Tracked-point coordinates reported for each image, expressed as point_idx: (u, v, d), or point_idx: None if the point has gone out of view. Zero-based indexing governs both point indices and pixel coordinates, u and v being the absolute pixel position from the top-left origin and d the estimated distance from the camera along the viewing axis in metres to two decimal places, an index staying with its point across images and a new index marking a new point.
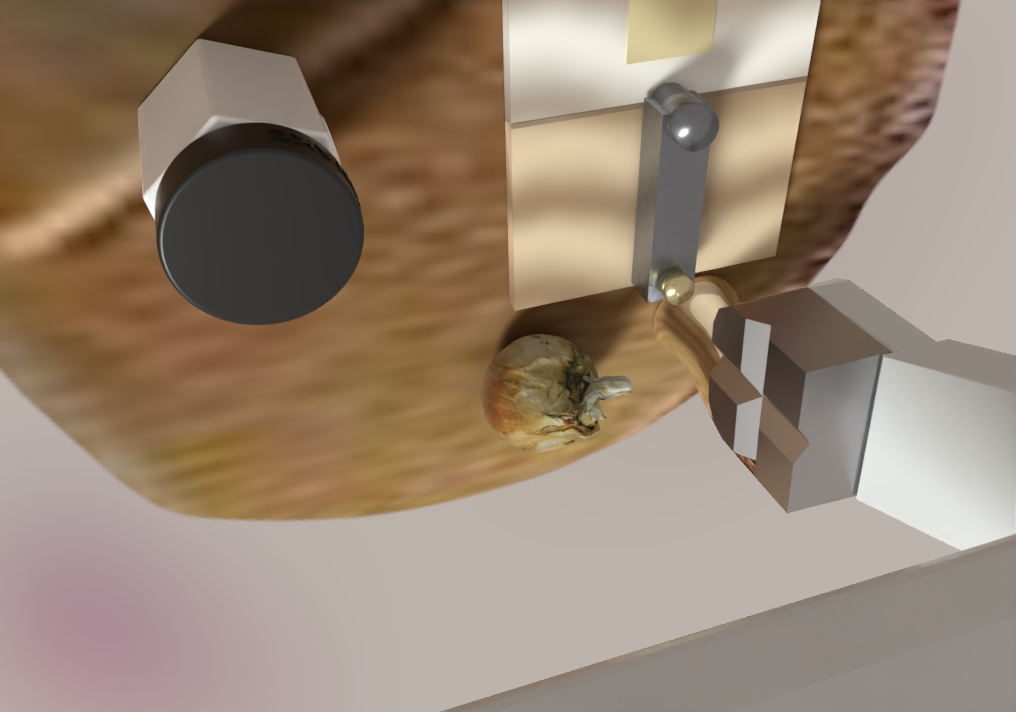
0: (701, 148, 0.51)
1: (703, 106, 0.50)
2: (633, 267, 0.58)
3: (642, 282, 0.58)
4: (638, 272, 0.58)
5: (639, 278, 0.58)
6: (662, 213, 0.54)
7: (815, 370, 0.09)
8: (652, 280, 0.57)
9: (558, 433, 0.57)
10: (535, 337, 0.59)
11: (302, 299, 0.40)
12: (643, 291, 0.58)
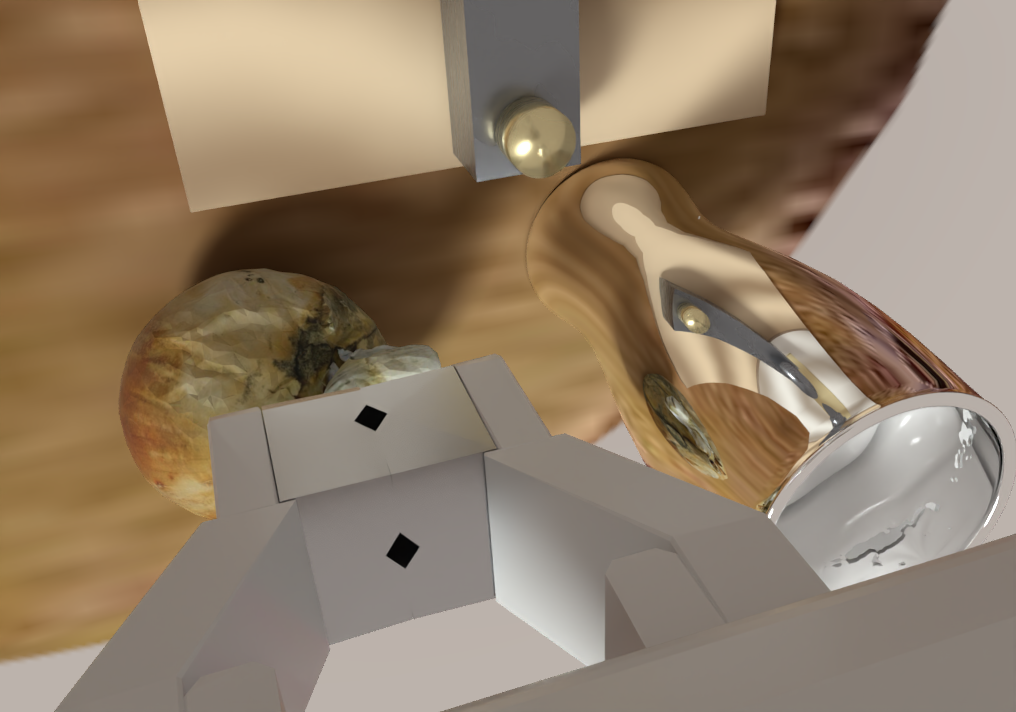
0: None
1: None
2: (451, 114, 0.27)
3: (465, 138, 0.26)
4: (457, 119, 0.26)
5: (460, 132, 0.26)
6: None
7: (402, 471, 0.08)
8: (480, 124, 0.25)
9: None
10: (241, 271, 0.27)
11: None
12: (468, 158, 0.26)
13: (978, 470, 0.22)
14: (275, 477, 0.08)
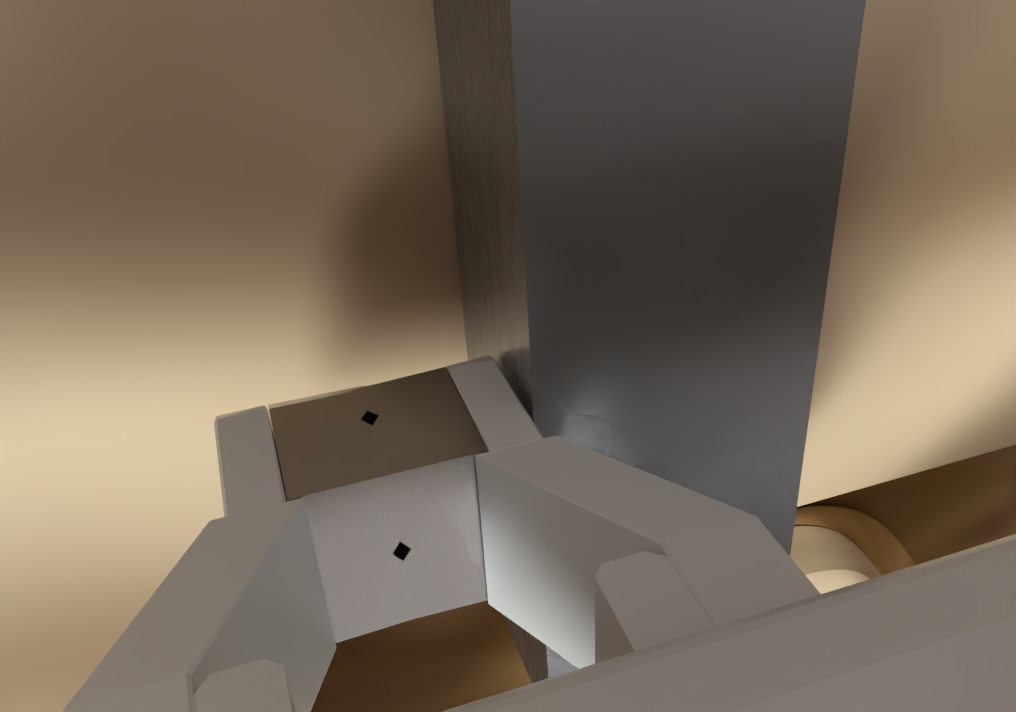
0: None
1: None
2: None
3: None
4: None
5: None
6: (575, 261, 0.08)
7: (392, 473, 0.08)
8: None
9: None
10: None
11: None
12: (529, 658, 0.12)
13: None
14: (282, 475, 0.08)
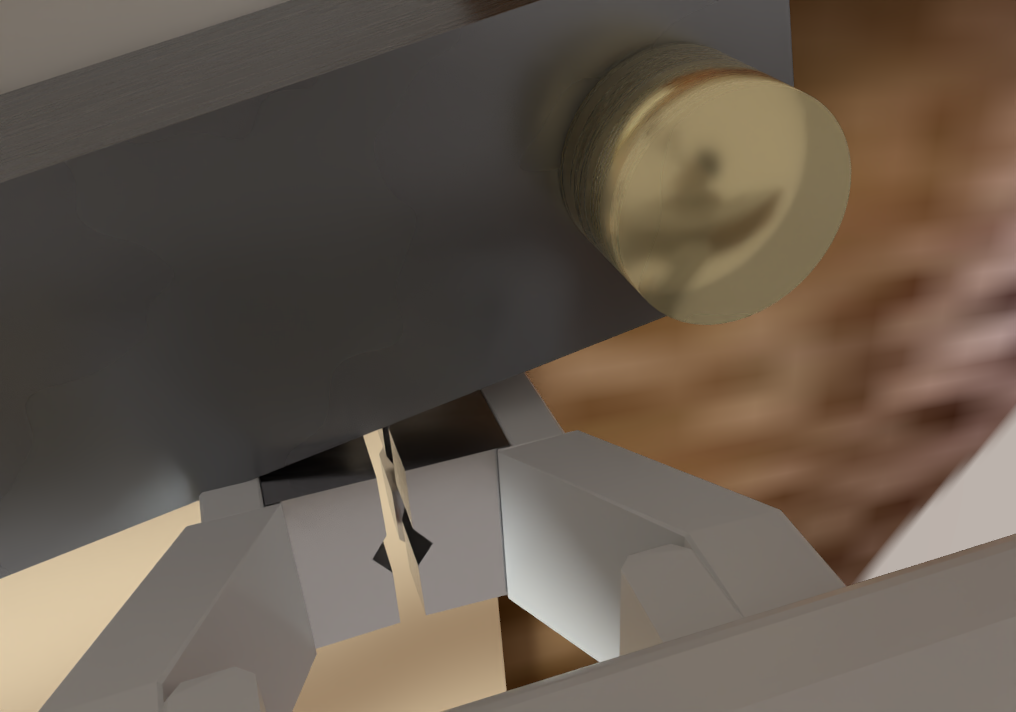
0: None
1: None
2: None
3: None
4: None
5: None
6: (140, 474, 0.08)
7: (416, 467, 0.08)
8: (647, 302, 0.08)
9: None
10: None
11: None
12: None
13: None
14: (261, 480, 0.08)
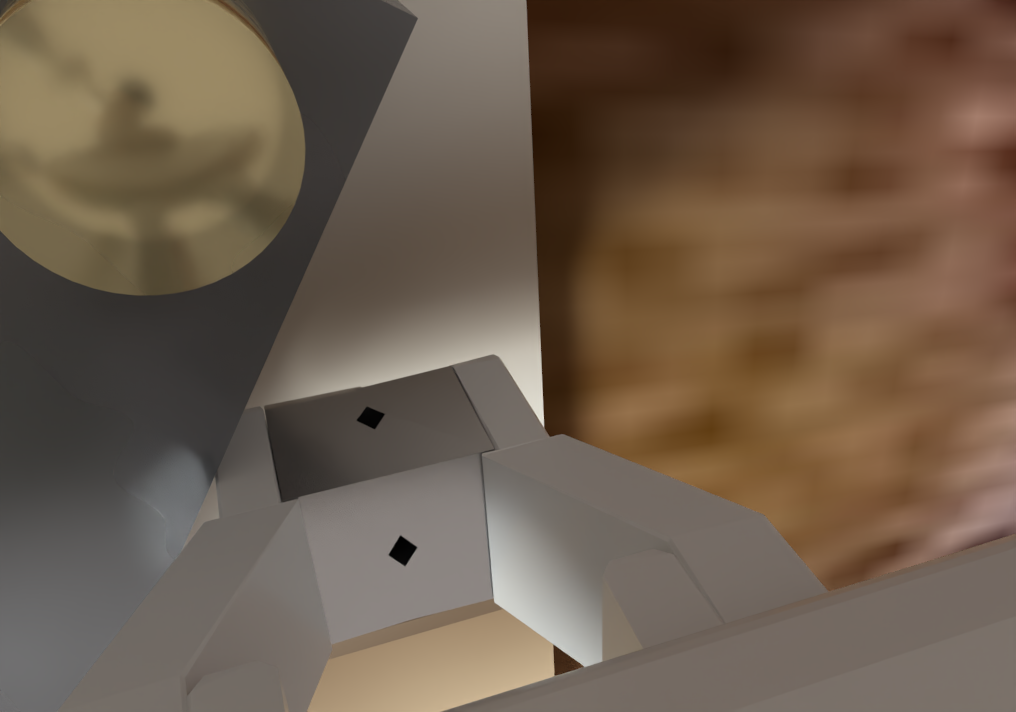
0: None
1: None
2: None
3: None
4: None
5: None
6: (86, 642, 0.08)
7: (400, 472, 0.08)
8: (304, 203, 0.07)
9: None
10: None
11: None
12: None
13: None
14: (277, 477, 0.08)
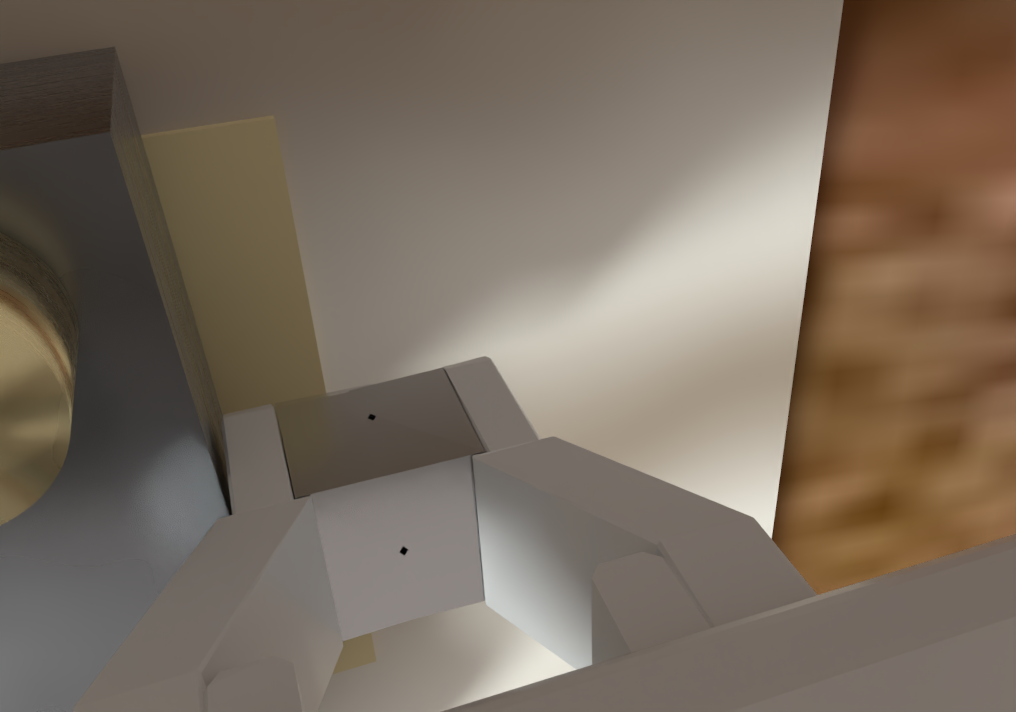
0: None
1: None
2: (152, 181, 0.09)
3: (146, 210, 0.08)
4: (156, 218, 0.08)
5: (146, 193, 0.08)
6: None
7: (390, 474, 0.08)
8: (141, 333, 0.07)
9: None
10: None
11: None
12: (128, 155, 0.07)
13: None
14: (289, 473, 0.08)
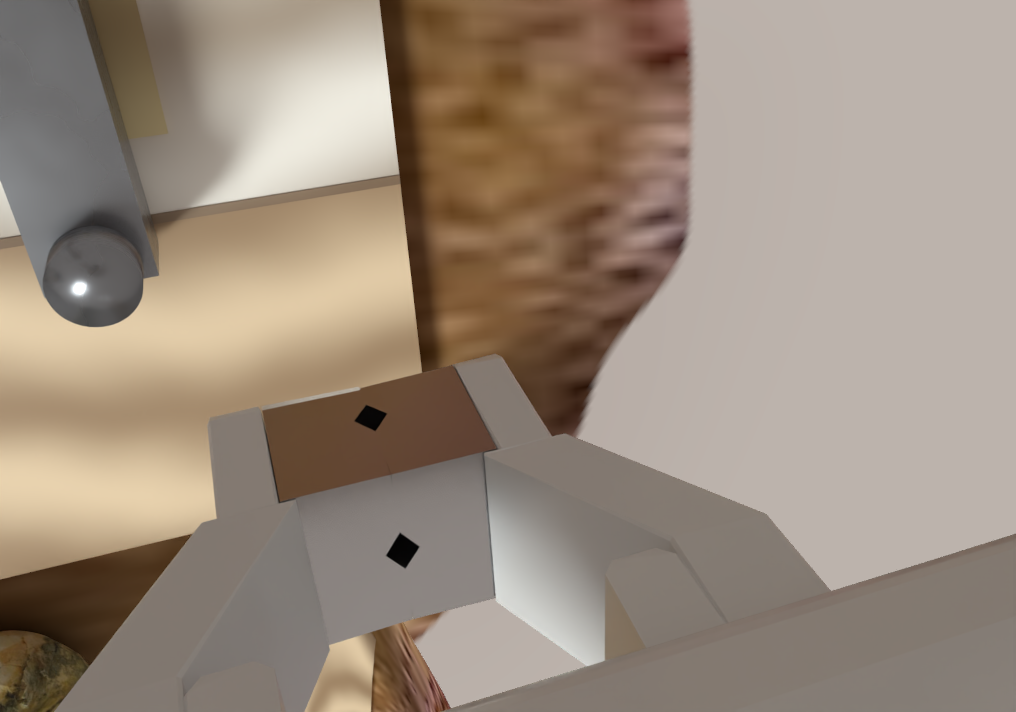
0: (68, 251, 0.24)
1: None
2: None
3: None
4: None
5: None
6: (74, 60, 0.23)
7: (402, 471, 0.08)
8: None
9: None
10: None
11: None
12: None
13: None
14: (275, 477, 0.08)
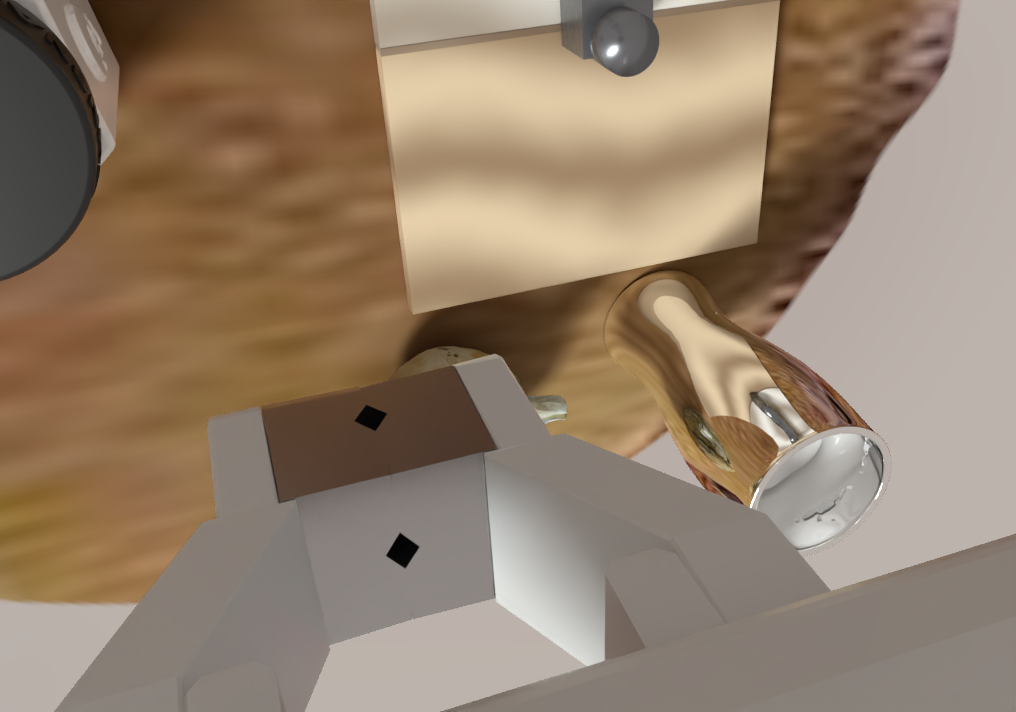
0: (623, 18, 0.36)
1: None
2: None
3: None
4: None
5: None
6: None
7: (402, 471, 0.08)
8: None
9: None
10: (441, 349, 0.45)
11: (8, 247, 0.26)
12: None
13: (873, 467, 0.40)
14: (275, 477, 0.08)
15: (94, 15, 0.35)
